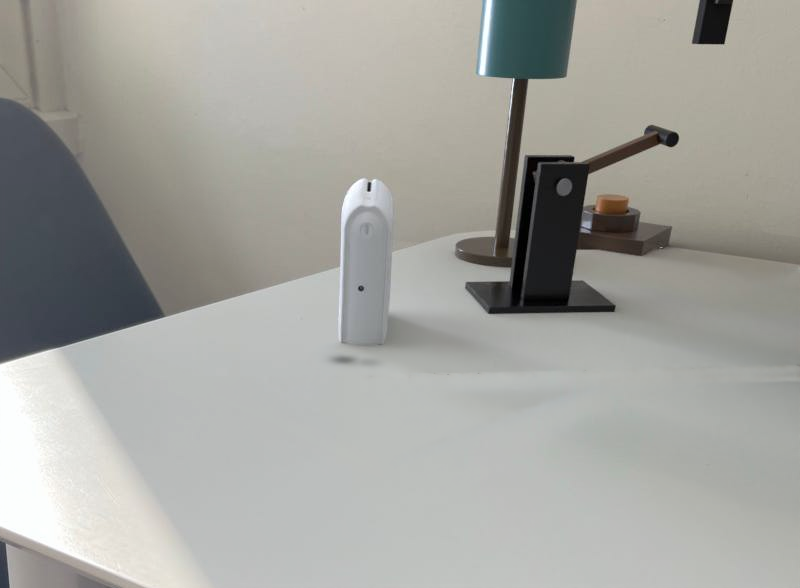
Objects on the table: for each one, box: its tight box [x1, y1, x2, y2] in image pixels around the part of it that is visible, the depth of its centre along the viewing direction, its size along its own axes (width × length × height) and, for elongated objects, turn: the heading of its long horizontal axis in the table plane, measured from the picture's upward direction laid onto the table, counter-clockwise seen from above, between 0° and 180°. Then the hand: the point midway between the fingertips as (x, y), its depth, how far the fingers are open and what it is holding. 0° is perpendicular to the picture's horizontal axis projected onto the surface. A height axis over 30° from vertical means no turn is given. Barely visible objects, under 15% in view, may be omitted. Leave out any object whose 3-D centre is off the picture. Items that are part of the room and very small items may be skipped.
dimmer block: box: [577, 204, 673, 257], centre depth 116 cm, size 12×10×4 cm
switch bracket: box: [464, 154, 616, 315], centre depth 92 cm, size 12×9×13 cm
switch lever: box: [533, 124, 680, 183], centre depth 89 cm, size 12×5×2 cm, turn 97°
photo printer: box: [337, 177, 395, 347], centre depth 83 cm, size 10×4×12 cm, turn 177°
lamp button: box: [595, 193, 630, 214], centre depth 114 cm, size 4×4×2 cm
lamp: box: [454, 0, 578, 268], centre depth 103 cm, size 10×10×25 cm
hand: (708, 43), depth 98 cm, fingers closed
